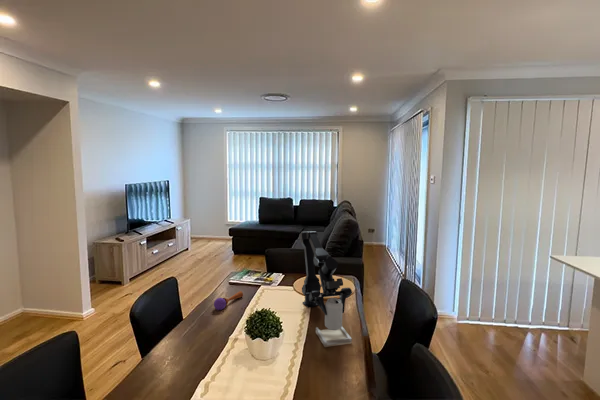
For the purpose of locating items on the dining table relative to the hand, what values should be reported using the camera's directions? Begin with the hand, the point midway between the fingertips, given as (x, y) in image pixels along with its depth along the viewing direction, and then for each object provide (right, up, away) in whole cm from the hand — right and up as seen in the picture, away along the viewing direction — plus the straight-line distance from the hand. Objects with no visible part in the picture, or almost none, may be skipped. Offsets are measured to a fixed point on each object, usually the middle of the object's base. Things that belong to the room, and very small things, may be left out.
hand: (334, 313), depth 138 cm
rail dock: (-1, -11, +3) cm, 12 cm away
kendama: (-53, -7, +34) cm, 63 cm away
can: (0, -7, +2) cm, 7 cm away
